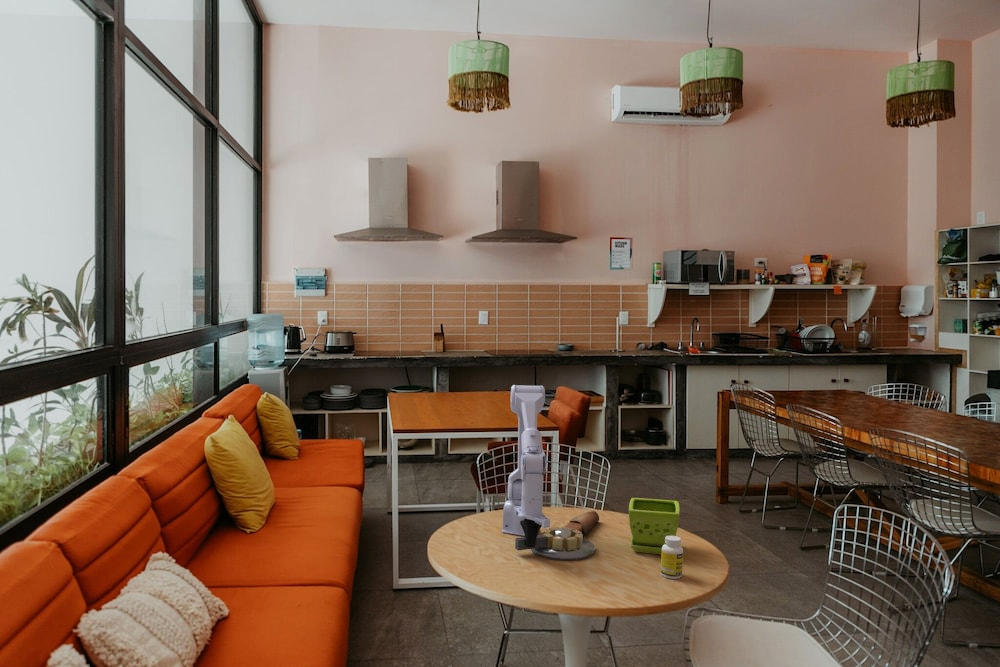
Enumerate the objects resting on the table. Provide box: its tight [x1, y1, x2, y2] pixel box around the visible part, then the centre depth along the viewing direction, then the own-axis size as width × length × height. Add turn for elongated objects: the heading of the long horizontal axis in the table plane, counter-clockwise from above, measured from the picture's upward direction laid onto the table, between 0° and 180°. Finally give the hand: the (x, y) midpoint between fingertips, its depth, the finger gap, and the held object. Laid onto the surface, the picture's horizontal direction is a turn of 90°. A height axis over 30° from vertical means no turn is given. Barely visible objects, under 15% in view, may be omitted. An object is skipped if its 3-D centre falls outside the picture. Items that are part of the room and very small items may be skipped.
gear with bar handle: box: [514, 526, 583, 551], centre depth 201 cm, size 11×20×3 cm, turn 115°
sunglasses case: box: [564, 510, 600, 539], centre depth 222 cm, size 18×7×7 cm
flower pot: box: [628, 497, 681, 555], centre depth 205 cm, size 14×14×13 cm
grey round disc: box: [530, 527, 596, 562], centre depth 203 cm, size 18×18×5 cm
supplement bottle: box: [660, 535, 684, 580], centre depth 186 cm, size 5×5×10 cm
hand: (530, 546), depth 197 cm, fingers closed
